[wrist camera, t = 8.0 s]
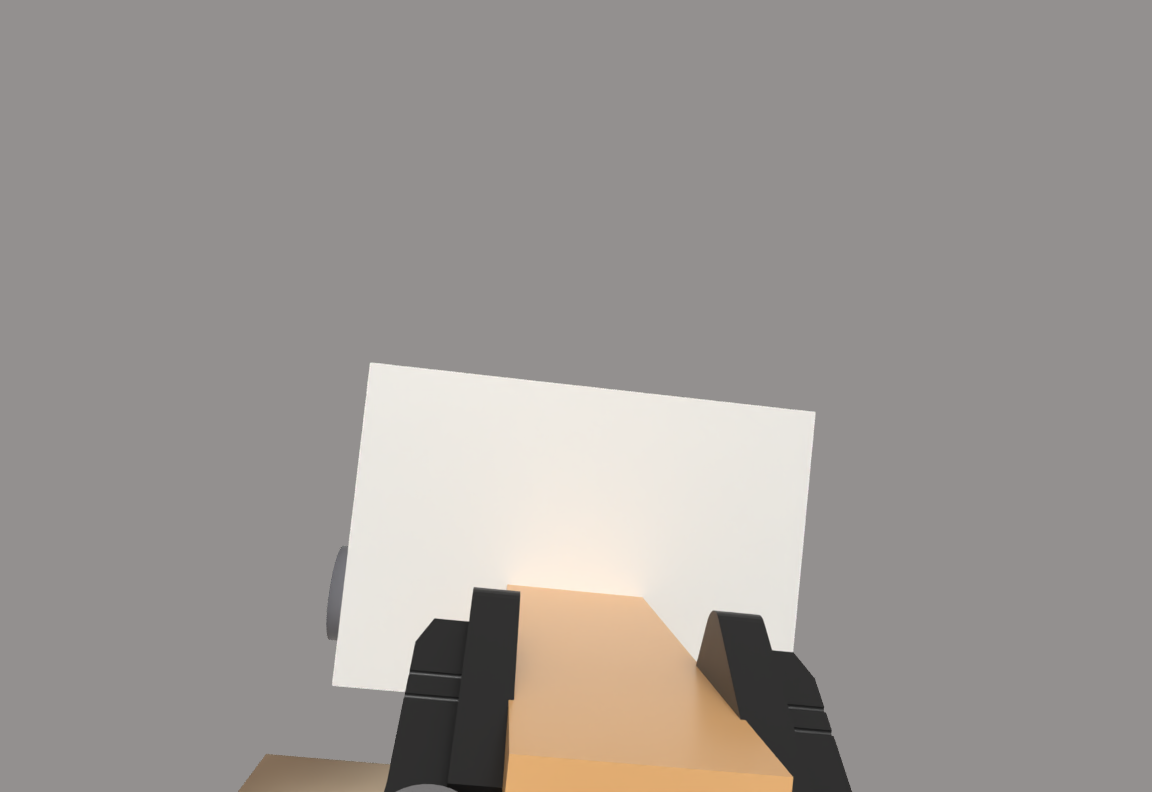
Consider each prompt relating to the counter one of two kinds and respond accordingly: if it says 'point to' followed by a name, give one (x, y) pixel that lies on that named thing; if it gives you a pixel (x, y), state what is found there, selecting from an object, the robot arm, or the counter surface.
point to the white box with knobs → (578, 563)
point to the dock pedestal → (315, 775)
